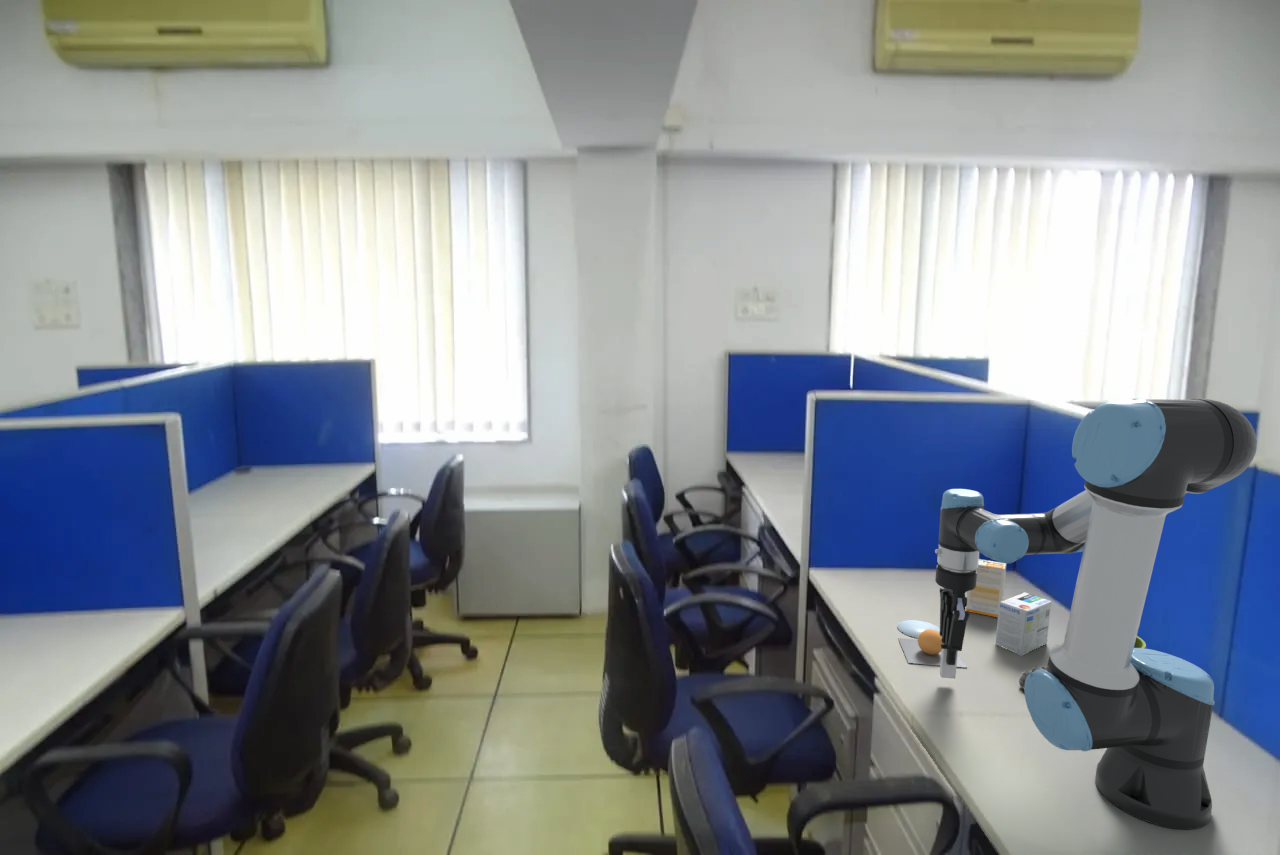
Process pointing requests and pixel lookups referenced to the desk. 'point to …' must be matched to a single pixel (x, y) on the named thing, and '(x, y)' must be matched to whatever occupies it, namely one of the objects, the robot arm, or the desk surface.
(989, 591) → the supplement box
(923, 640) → the ball
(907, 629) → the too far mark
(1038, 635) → the light bulb box
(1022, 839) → the desk surface
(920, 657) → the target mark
